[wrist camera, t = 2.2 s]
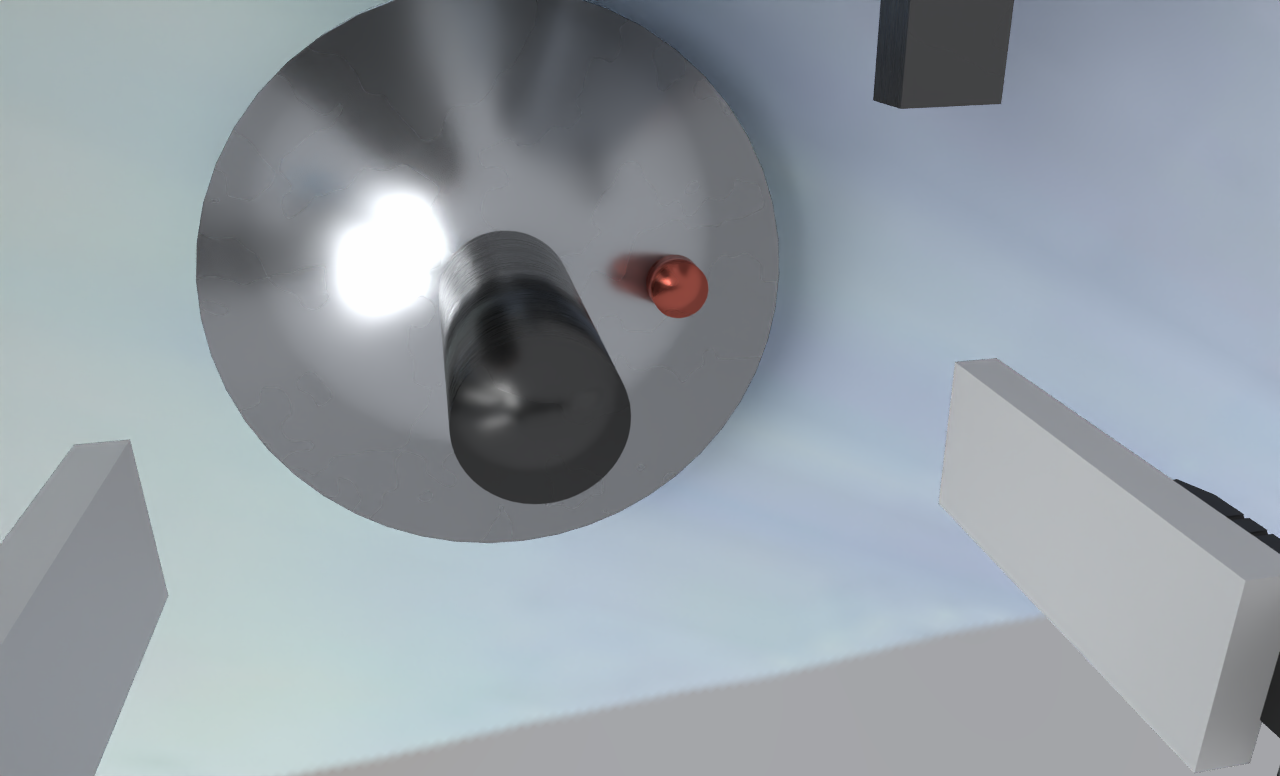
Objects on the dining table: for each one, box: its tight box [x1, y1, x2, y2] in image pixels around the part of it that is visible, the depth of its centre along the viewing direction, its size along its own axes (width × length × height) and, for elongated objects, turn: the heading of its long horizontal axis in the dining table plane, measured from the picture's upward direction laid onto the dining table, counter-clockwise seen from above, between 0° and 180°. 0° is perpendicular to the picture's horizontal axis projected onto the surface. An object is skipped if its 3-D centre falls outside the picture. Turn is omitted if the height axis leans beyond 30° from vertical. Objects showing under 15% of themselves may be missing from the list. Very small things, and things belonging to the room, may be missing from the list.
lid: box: [196, 0, 779, 543], centre depth 22 cm, size 14×14×10 cm
